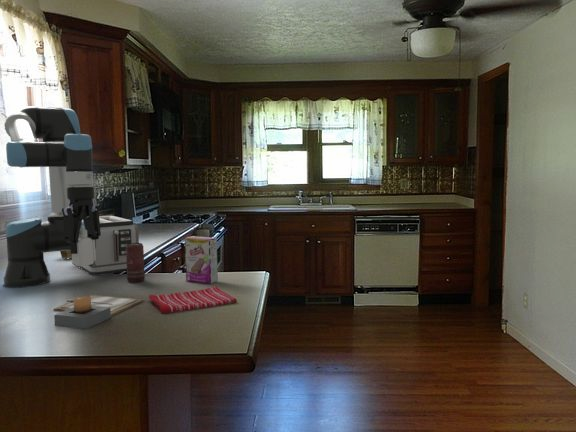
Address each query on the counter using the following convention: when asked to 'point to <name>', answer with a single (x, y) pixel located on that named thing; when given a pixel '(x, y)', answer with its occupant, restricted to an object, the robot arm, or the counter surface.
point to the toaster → (112, 245)
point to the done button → (82, 303)
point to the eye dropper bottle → (85, 248)
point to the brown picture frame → (105, 303)
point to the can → (135, 262)
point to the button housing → (82, 317)
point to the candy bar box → (201, 259)
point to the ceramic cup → (66, 254)
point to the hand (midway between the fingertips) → (84, 262)
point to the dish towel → (191, 300)
